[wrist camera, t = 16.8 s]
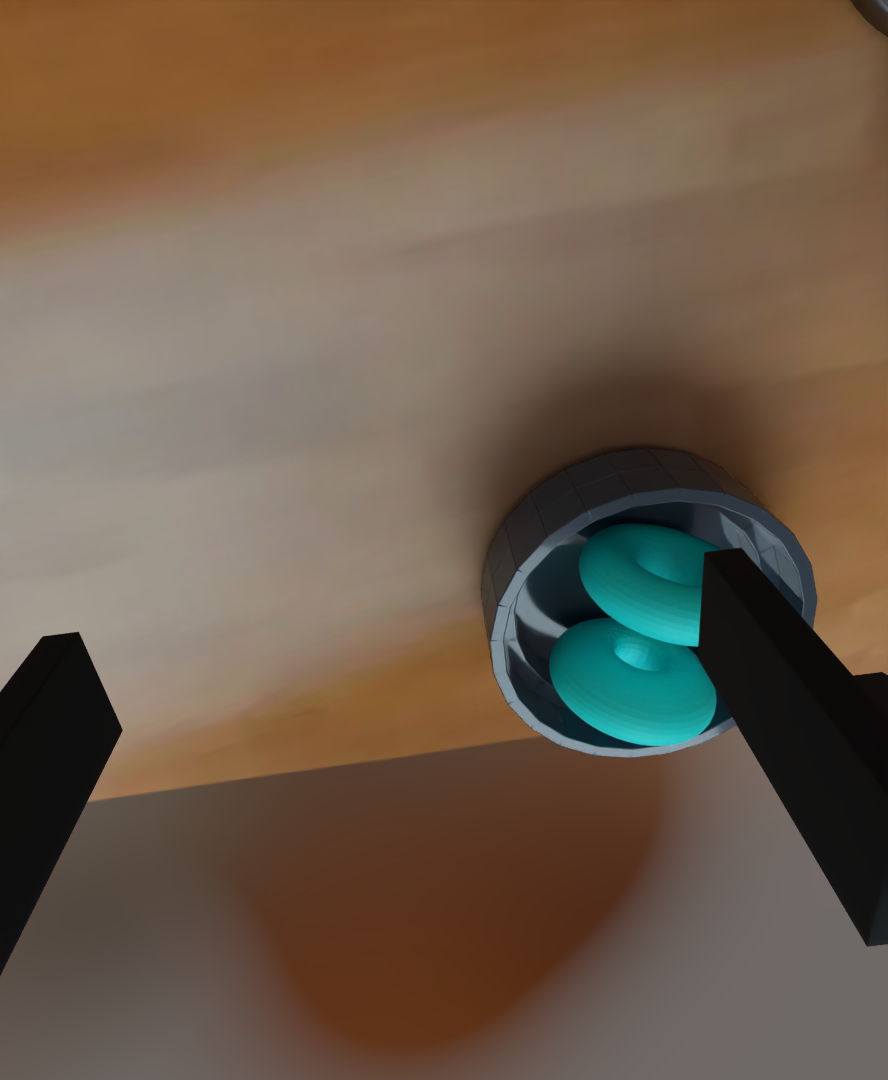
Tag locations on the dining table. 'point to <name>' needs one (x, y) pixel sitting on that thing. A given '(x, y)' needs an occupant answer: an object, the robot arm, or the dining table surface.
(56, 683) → the robot arm
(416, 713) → the dining table surface
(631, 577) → the donuts
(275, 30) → the dining table surface
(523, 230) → the dining table surface
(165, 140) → the dining table surface
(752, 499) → the bowl
